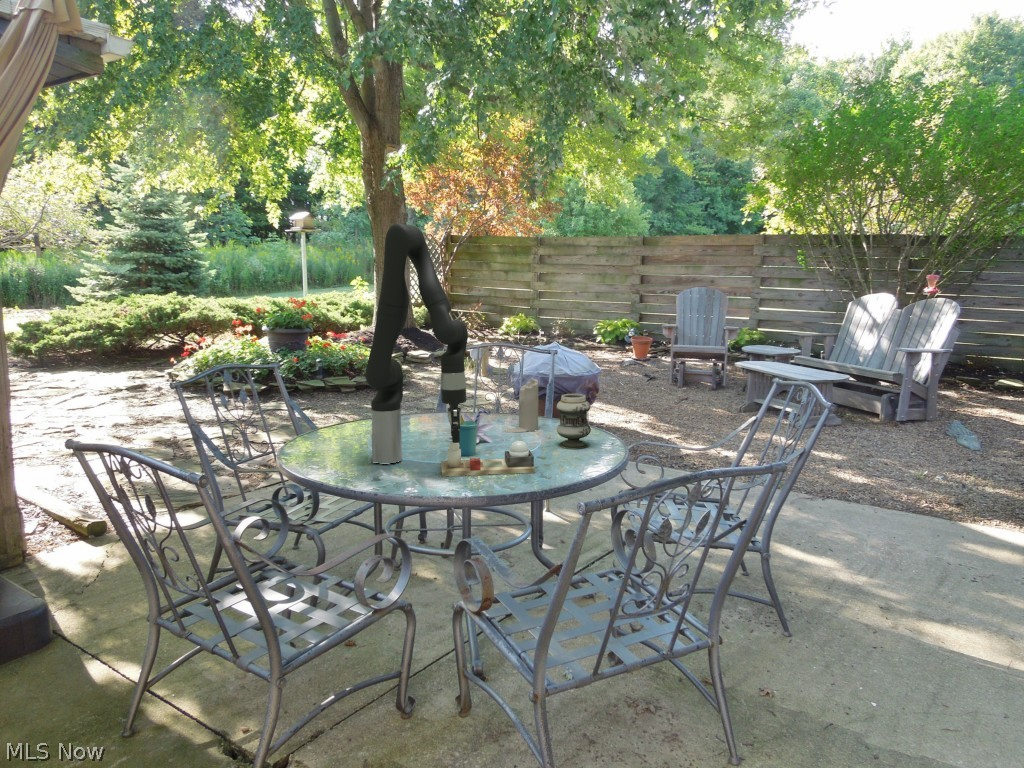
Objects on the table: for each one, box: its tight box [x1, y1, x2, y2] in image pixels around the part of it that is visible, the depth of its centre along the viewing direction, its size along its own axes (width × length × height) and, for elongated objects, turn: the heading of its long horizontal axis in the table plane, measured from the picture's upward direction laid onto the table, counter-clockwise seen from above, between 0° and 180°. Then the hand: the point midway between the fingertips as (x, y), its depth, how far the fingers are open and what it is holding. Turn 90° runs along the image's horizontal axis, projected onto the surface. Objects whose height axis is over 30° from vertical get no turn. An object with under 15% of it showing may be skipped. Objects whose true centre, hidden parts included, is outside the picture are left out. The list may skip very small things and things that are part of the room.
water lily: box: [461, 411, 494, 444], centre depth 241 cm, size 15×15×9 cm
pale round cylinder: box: [508, 440, 530, 457], centre depth 206 cm, size 6×6×6 cm
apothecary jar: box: [556, 393, 592, 450], centre depth 233 cm, size 12×12×18 cm
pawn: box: [447, 440, 462, 467], centre depth 203 cm, size 4×4×8 cm
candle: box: [502, 377, 540, 433], centre depth 256 cm, size 7×14×20 cm, turn 107°
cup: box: [449, 409, 491, 457], centre depth 222 cm, size 14×8×15 cm, turn 99°
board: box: [440, 449, 536, 477], centre depth 205 cm, size 28×12×5 cm, turn 97°
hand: (455, 439), depth 202 cm, fingers open, 8 cm apart
